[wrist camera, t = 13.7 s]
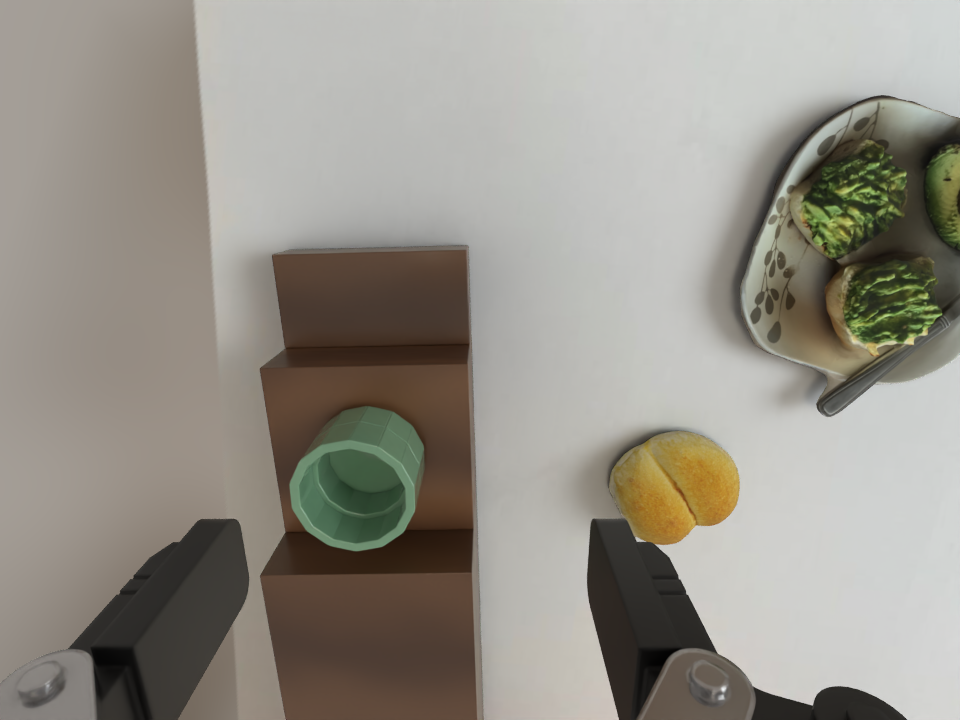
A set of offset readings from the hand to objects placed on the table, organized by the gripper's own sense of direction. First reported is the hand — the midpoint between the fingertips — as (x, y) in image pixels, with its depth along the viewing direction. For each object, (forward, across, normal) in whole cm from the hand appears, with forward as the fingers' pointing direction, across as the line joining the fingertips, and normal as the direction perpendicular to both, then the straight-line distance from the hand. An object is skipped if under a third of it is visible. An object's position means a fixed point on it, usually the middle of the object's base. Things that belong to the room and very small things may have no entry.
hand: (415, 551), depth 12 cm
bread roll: (+26, -15, +13) cm, 33 cm away
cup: (+18, +5, +7) cm, 21 cm away
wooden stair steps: (+25, +5, +26) cm, 37 cm away
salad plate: (+26, -28, -4) cm, 38 cm away
